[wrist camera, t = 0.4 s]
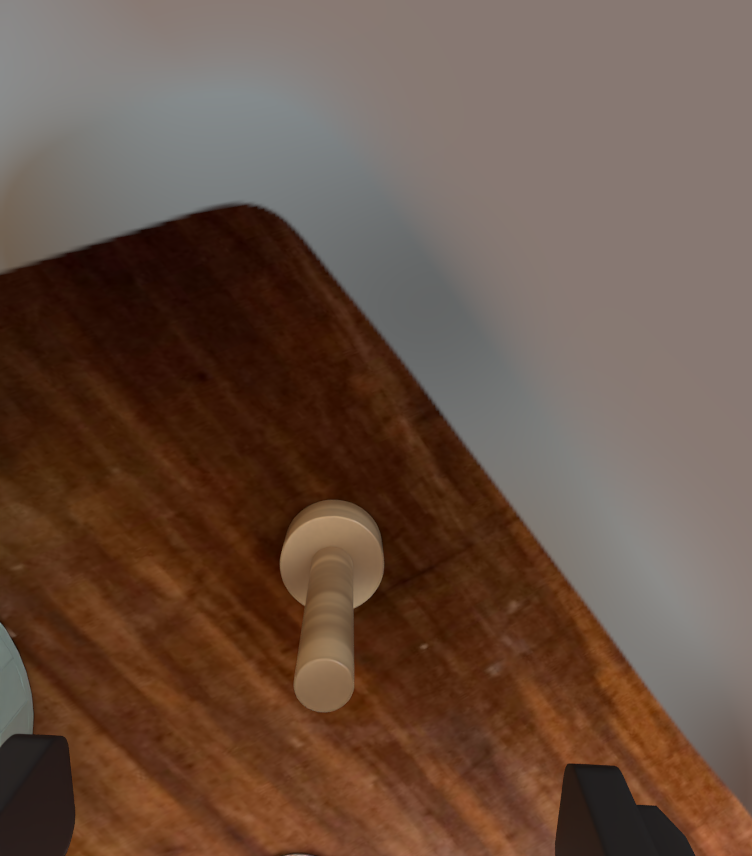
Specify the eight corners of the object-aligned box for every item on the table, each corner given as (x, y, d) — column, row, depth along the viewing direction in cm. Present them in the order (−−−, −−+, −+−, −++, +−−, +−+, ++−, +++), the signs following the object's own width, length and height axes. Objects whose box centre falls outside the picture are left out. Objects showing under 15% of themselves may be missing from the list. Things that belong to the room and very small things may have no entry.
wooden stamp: (276, 508, 32) (232, 631, 20) (373, 491, 32) (385, 604, 20) (295, 597, 33) (264, 764, 21) (388, 581, 33) (410, 738, 21)
